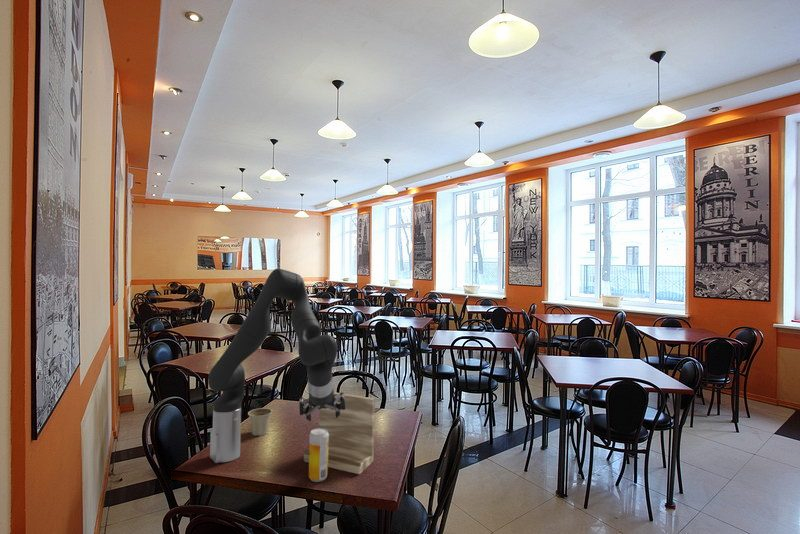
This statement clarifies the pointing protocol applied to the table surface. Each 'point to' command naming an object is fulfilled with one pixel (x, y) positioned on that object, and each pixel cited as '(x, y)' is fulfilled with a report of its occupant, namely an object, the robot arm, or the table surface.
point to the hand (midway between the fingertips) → (323, 417)
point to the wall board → (349, 434)
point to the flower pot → (260, 420)
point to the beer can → (318, 454)
